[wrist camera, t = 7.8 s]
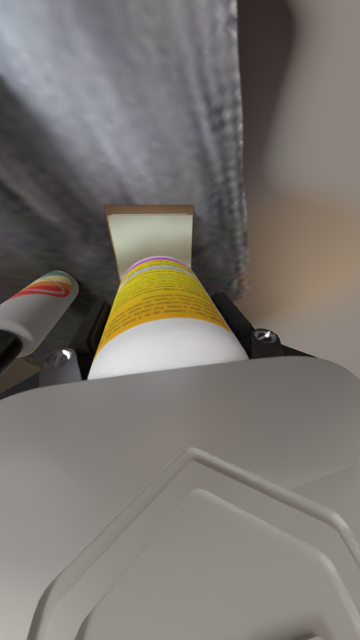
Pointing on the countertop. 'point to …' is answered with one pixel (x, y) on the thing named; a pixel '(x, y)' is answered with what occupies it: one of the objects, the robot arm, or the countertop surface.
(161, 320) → the supplement bottle
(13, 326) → the lotion bottle
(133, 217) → the cream slab tan edge
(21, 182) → the countertop surface
